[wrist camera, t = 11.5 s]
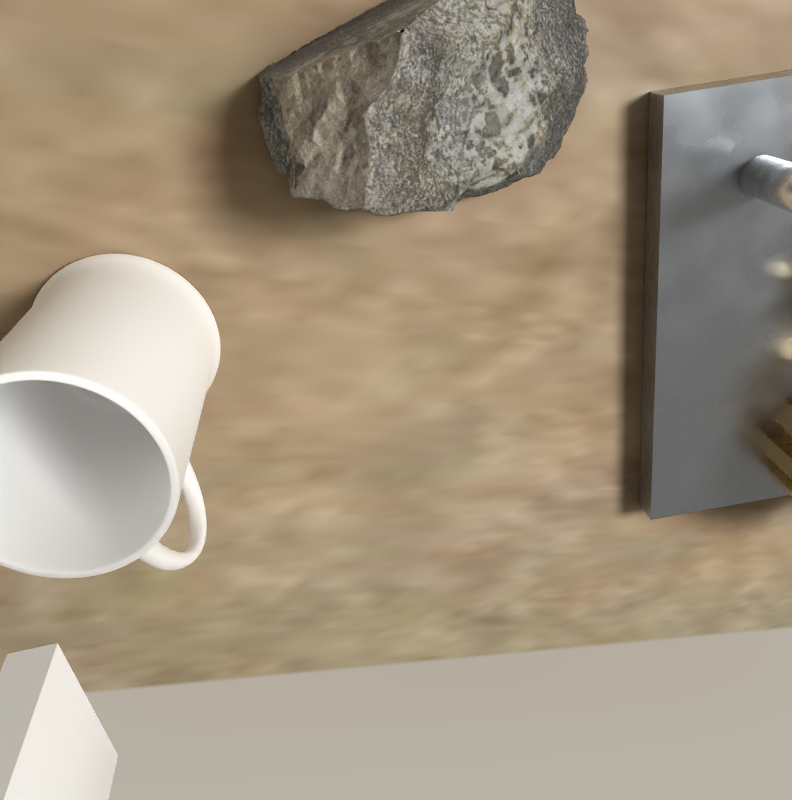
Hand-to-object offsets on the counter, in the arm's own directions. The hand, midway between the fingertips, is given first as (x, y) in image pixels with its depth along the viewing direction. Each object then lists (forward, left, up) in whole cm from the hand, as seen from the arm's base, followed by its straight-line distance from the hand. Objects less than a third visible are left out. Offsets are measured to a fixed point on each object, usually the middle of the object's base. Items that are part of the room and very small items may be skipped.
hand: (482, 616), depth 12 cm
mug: (+5, -11, -25) cm, 28 cm away
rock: (-5, +3, -25) cm, 26 cm away
